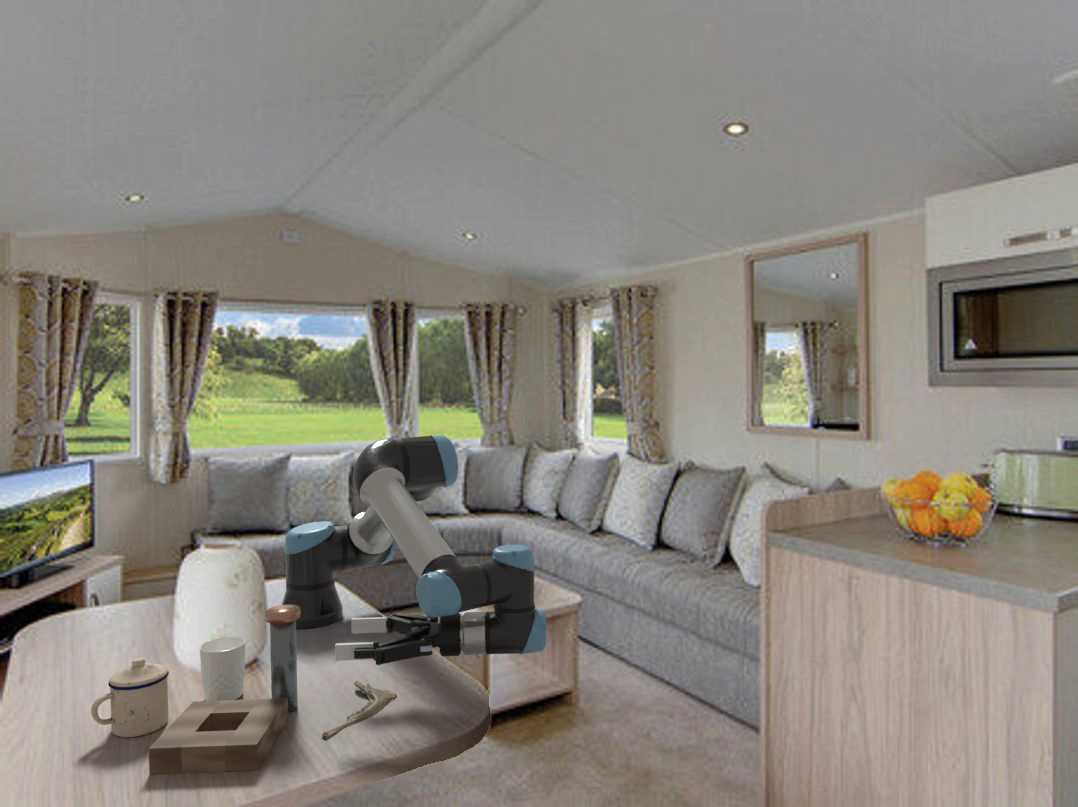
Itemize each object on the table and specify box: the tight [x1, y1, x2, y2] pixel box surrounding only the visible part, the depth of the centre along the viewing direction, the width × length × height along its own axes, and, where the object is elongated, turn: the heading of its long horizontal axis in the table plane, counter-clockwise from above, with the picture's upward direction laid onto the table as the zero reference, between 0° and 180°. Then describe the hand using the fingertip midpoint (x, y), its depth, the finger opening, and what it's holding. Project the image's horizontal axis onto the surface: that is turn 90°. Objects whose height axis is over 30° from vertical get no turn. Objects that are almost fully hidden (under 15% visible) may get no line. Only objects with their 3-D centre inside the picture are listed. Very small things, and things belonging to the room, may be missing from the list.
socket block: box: [148, 698, 289, 775], centre depth 117 cm, size 16×16×4 cm
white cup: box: [199, 636, 246, 701], centre depth 136 cm, size 8×8×10 cm
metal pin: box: [264, 604, 300, 714], centre depth 130 cm, size 6×6×18 cm
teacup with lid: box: [90, 657, 170, 738], centre depth 123 cm, size 12×9×12 cm
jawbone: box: [321, 680, 397, 740], centre depth 129 cm, size 9×20×2 cm, turn 179°
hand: (343, 638), depth 131 cm, fingers open, 13 cm apart
